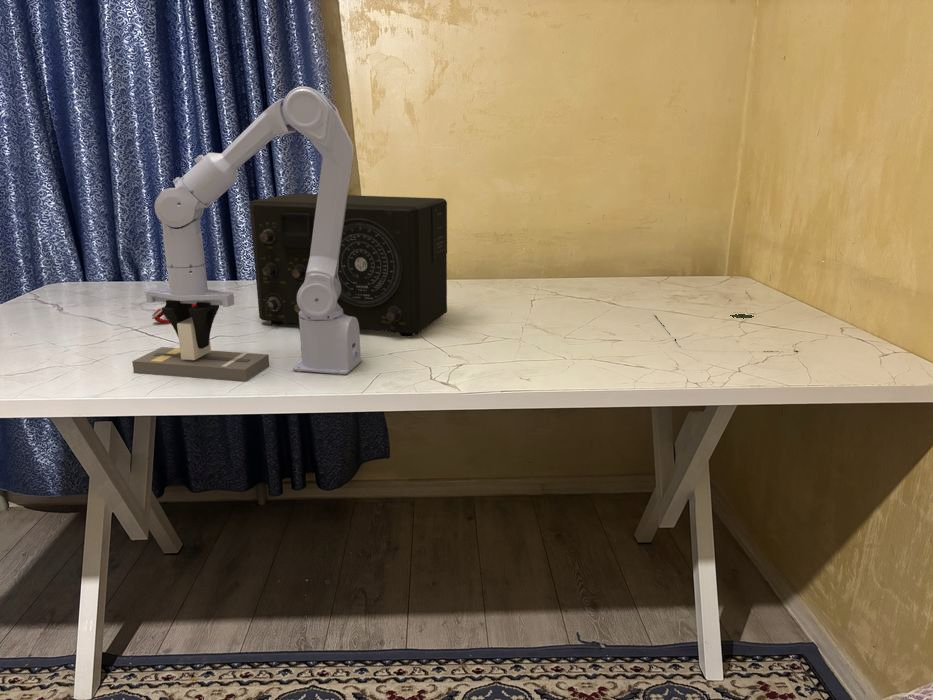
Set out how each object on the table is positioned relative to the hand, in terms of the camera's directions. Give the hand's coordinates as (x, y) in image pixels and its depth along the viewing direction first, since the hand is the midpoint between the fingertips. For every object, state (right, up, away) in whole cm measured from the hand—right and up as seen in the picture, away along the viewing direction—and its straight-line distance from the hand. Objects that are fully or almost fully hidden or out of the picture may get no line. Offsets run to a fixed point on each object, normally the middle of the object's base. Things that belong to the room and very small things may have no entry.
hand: (195, 346), depth 117 cm
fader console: (+1, -4, +1) cm, 4 cm away
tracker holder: (-16, +6, +33) cm, 37 cm away
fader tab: (0, -1, +1) cm, 1 cm away
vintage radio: (+20, +5, +30) cm, 37 cm away
